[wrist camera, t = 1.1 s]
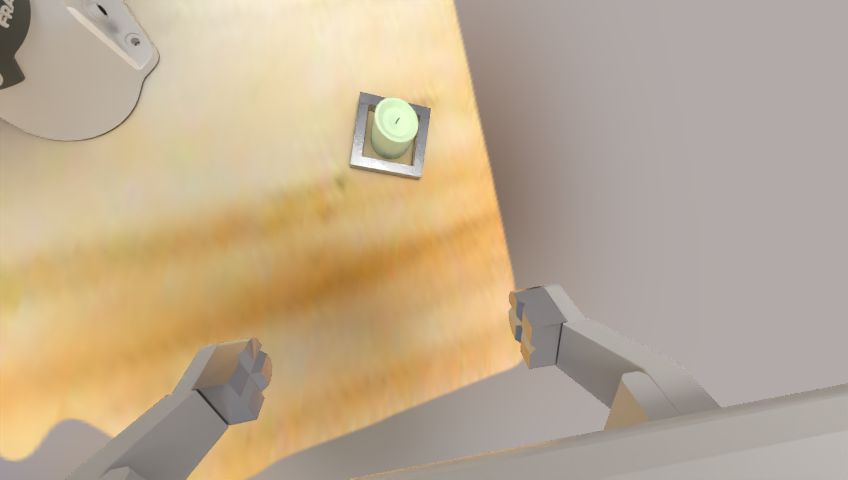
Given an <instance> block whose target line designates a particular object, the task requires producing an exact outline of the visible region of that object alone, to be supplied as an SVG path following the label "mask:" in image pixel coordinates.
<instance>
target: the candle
mask: <svg viewBox="0 0 848 480" xmlns="http://www.w3.org/2000/svg"><path fill="white" fill-rule="evenodd" d="M417 130H418V118H417V115H416V113H415V111H414V110H413V108H412V107H411V106H410V105H409V104H408V103H407V102H405V101H404V100H402V99H399V98H394V97H390V98H385V99H384V100H382V101H380V103H379V104H378V105H377V107H376V109H375V114H374V120H373V127H372V133H371V144H372V146H373V149H374V150H375V151H376V153H377V154H379V155H380V156H382V157H384V158H387V159H395V158H398V157H400V156H401V155H403V154H404V153H405V151H406V150H407V148H408V147H409V145H410V143H411V142H412V140H413V138H414V137H415V135H416V133H417Z"/></svg>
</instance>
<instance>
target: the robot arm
mask: <svg viewBox="0 0 848 480" xmlns="http://www.w3.org/2000/svg"><path fill="white" fill-rule="evenodd" d="M137 42H140V44H139V45H137V46H135V44H136V43H137ZM158 60H159V54H158V51H157V49H156V48H155V46H154V45H153V44H152V42H151V41H150V39H149V38H148V36H147V35H146V33H145V32H144V30H143V29H142V27H141V26H140V24H139V23H138V22H137V20H136V19H135V17H134V16H133V14H132V13H131V11H130V10H129V8H128V7H127V5H126V4H125V2H124V1H123V0H0V118H1V119H3V120H5V121H7V122H8V123H10V124H12V125H14V126H15V127H17V128H19V129H21V130H23V131H25V132H28V133H30V134H33V135H36V136H39V137H43V138H47V139H52V140H62V141H73V140H83V139H88V138H92V137H95V136H98V135H101V134H103V133H106V132H108V131H110V130H111V129H113V128H115V127H116V126H117V125H119V124H120V123H121V122H122V121H123V120H124V119H125V118H126V117H127V116H128V115H129V114H130V113H131V111H132V110H133V108H134V106H135V104H136V102H137V100H138V97H139V94H140V90H141V86H142V83H143V80H144V78H145V77H146V76H147V75H148V74H149V72H150V71H151V70H152V69H153V68H154V67H155V65H156V64H157V62H158ZM509 302H510V304H511V306H512V307H511V309H510V310H509V322H510V327H511V330H512V333H513V335H514V338H515V340H517V341H518V342H520V343H521V353H522V355H523V357H524V359H525V362H526V364H527V366H528V368H529V369H532V368H539V367H545V366H552V365H556V366H557V367H558V368H559V369H561V370H562V371H563V372H564V373H566V374H567V375H568V376H569V377H571V378H572V379H573V380H575V381H576V382H577V383H578V384H580V385H581V386H582V387H583V388H585V389H586V390H587V391H588V392H590V393H591V394H592V395H593V396H595V397H596V398H597V399H598V400H600V401H601V402H602V403H604V404H605V405H606V406H608V407H609V408H610V409H611V410H610V414H609V416H608V419H607V422H606V425H605V428H604V430H603V431H598V432H592V433H587V434H582V435H577V436H571V437H567V438H561V439H556V440H551V441H545V442H540V443H535V444H530V445H525V446H519V447H515V448H509V449H504V450H498V451H494V452H488V453H483V454H477V455H472V456H467V457H462V458H456V459H451V460H446V461H441V462H435V463H431V464H425V465H420V466H414V467H409V468H404V469H399V470H393V471H389V472H383V473H378V474H373V475H368V476H362V477H357V478H352V479H347V480H848V383H847V384H842V385H837V386H832V387H827V388H822V389H816V390H812V391H806V392H801V393H795V394H790V395H785V396H780V397H775V398H769V399H764V400H759V401H754V402H748V403H743V404H738V405H733V406H728V407H722V408H721V407H720V406H719V405H718V404H717V402H716V401H715V400H714V399H713V398H712V397H711V396H710V395H709V394H708V393H707V392H706V391H705V390H704V389H703V388H702V387H701V386H700V385H699V383H698V382H696V380H695V379H694V378H693V377H692V376H691V375H690V374H689V373H688V372H687V371H686V370H685V369H684V368H683V367H682V365H681V364H680V363H678V362H677V361H675V360H673V359H671V358H669V357H667V356H665V355H663V354H661V353H659V352H657V351H655V350H653V349H651V348H649V347H647V346H644V345H643V344H640V343H638V342H637V341H635V340H633V339H631V338H629V337H626V336H625V335H623V334H621V333H619V332H616V331H615V330H613V329H611V328H609V327H607V326H605V325H602V324H601V323H598V322H596V321H595V320H593V319H585V318H584V316H583V315H582V314H581V313H580V311H579V310H578V309H577V307H576V306H575V305H574V303H573V302H572V301H571V299H570V298H569V297H568V295H567V294H566V293H565V292H564V290H563V289H562V288H561V286H560V285H559V284H557V283H553V284H548V285H542V286H538V287H532V288H527V289H522V290H516V291H511V292H510V294H509ZM260 348H261V343H260V342H259V341H258V339H257V338H248V339H241V340H235V341H228V342H222V343H217V344H211V345H205V346H204V347H202V348H201V349H200V350H199V351H198V353H197V355H196V356H195V358H194V359H193V361H192V363H191V364H190V366H189V367H188V369H187V371H186V372H185V374H184V376H183V377H182V379H181V380H180V382H179V384H178V385H177V387H176V388H175V390H174V392H173V393H172V394H171V395H166V396H165V397H164V398H163V399H161V400H160V401H159V402H158V403H156V404H155V405H154V406H153V407H152V408H150V409H149V410H148V411H147V412H145V413H144V414H143V415H142V416H141V417H139V418H138V419H137V420H136V421H134V422H133V423H132V424H131V425H130V426H128V427H127V428H126V429H125V430H123V431H122V432H121V433H120V434H118V435H117V436H116V437H115V438H114V439H112V440H111V441H110V442H109V443H107V444H106V445H105V446H104V447H103V448H101V449H100V450H99V451H98V452H96V453H95V454H94V455H93V456H92V457H90V458H89V459H88V460H87V461H85V462H84V463H83V464H82V465H80V466H79V467H78V468H77V469H76V470H74V471H73V472H72V473H71V474H70V475H68V476H67V478H66V479H65V480H186V478H187V477H188V476H189V475H190V474H191V472H192V471H193V470H194V469H195V467H196V466H197V465H198V464H199V463H200V461H201V460H202V459H203V458H204V456H205V455H206V454H207V453H208V452H209V450H210V449H211V448H212V447H213V446H214V444H215V443H216V442H217V441H218V439H219V438H220V437H221V436H222V435H223V433H224V432H225V431H226V430H227V428H228V425H233V424H238V423H242V422H247V421H252V420H256V419H257V418H258V415H259V412H260V409H261V406H262V403H263V400H264V396H263V394H262V391H263V390H264V389H265V388H266V387H267V386H268V385H269V383H270V380H271V376H272V364H271V360H270V358H269V356H268V355H267V354H266V353H264V352H262V351H260Z"/></svg>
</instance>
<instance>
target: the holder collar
mask: <svg viewBox="0 0 848 480" xmlns="http://www.w3.org/2000/svg"><path fill="white" fill-rule="evenodd" d="M384 99H385V98H384V97H380V96H376V95H371V94H367V93H363V92H360V98H359V106H358V113H357V120H356V127H355V134H354V141H353V148H352V156H351V163H350V167H351V168H356V169H361V170H367V171H372V172H378V173H383V174H389V175H394V176H400V177H405V178H411V179H416V180H419V179H420V178H421V176H422V169H423V162H424V154H425V147H426V140H427V132H428V125H429V117H430V110H431V108H427V107H422V106H418V105H414V104H410V103H408V104H409V105H410V106H411V107H412V108H413V110H414V111H415V113H416V115H417V118H418V130H417V133H416V135H415V143H414V150H413V157H412V165H411V166H410V165H405V164H400V163H394V162H389V161H384V160H379V159H373V158H368V157H363V156H362V151H363V144H364V137H365V129H366V122H367V115H368V110H370V111H374V112H375V109H376V107H377V105H378V104H379V103H380V101H382V100H384Z"/></svg>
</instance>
